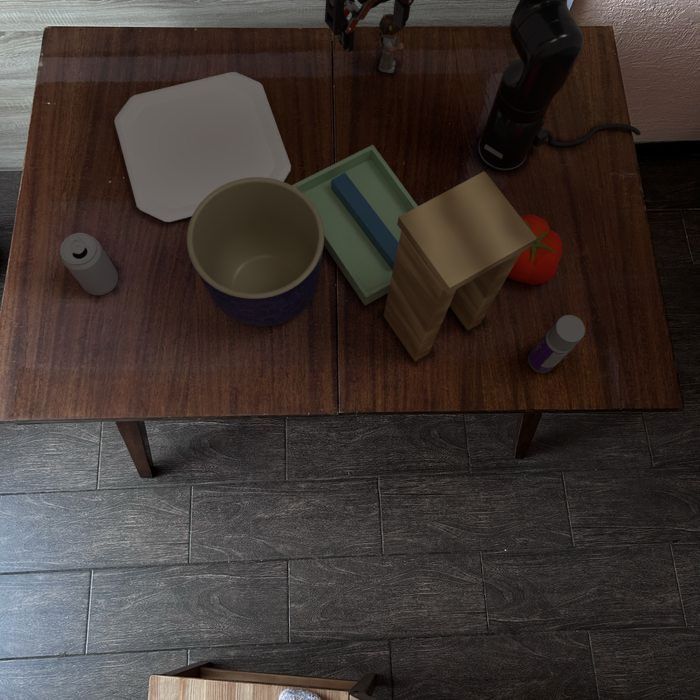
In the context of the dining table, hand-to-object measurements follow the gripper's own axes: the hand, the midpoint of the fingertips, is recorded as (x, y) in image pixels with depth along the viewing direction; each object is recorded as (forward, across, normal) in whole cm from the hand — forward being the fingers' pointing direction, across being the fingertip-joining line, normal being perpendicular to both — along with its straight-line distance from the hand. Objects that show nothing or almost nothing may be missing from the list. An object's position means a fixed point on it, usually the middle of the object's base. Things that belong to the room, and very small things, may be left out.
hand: (373, 35), depth 96 cm
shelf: (+36, -4, -30) cm, 47 cm away
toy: (+36, +19, +20) cm, 46 cm away
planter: (+36, -26, -10) cm, 46 cm away
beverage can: (+36, -50, +6) cm, 62 cm away
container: (+36, +8, -46) cm, 59 cm away
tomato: (+36, +16, -29) cm, 49 cm away
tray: (+36, -4, -9) cm, 37 cm away
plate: (+36, -22, +21) cm, 47 cm away
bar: (+35, -4, -9) cm, 37 cm away
